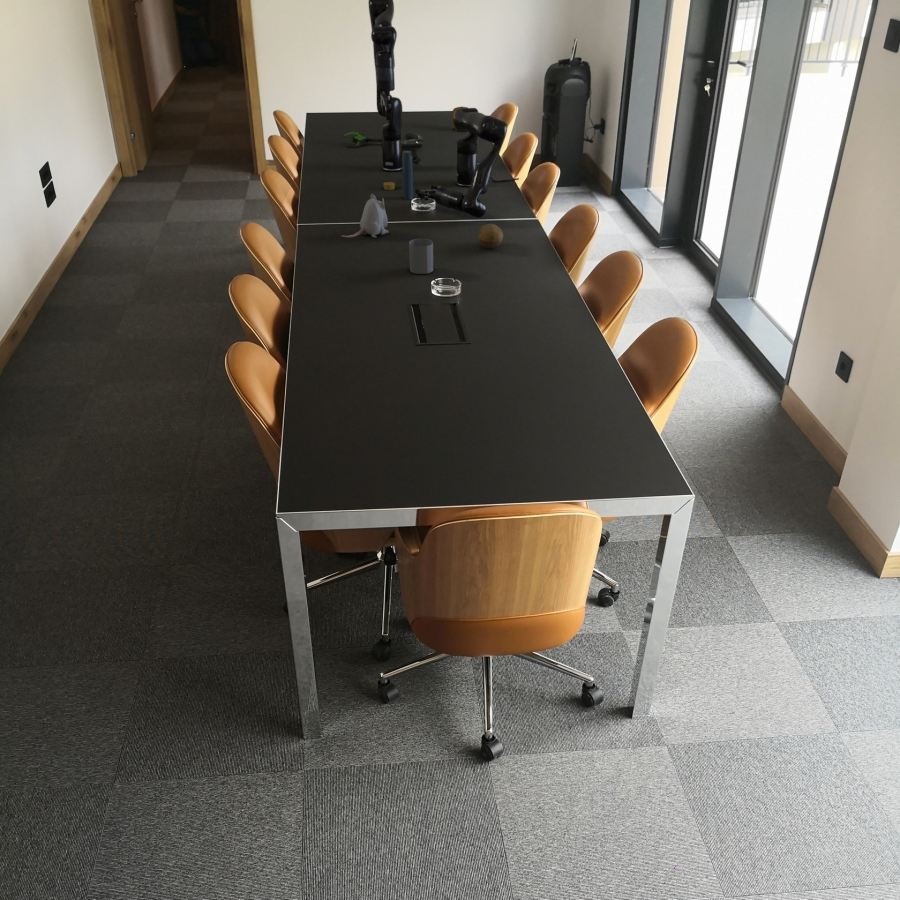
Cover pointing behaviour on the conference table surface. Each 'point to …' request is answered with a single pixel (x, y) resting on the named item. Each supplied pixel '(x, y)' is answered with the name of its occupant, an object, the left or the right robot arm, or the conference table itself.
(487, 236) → the potato
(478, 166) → the right robot arm
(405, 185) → the dark blue cylinder
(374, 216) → the toy
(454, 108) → the apple
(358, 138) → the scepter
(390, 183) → the lid
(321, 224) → the conference table surface
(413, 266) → the cup
